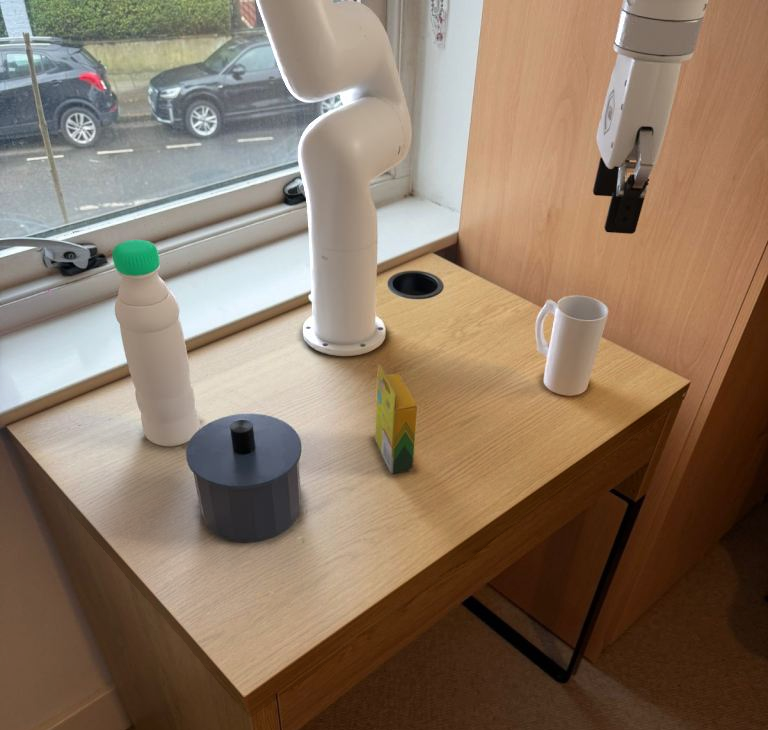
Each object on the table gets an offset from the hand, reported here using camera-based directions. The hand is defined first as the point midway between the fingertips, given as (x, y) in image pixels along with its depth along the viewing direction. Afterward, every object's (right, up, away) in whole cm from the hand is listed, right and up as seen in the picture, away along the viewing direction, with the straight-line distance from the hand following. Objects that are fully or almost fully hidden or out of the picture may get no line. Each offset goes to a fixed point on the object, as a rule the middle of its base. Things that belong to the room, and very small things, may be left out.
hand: (612, 212), depth 84 cm
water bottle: (-53, -23, +15) cm, 59 cm away
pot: (-41, -33, +5) cm, 52 cm away
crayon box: (-24, -26, +12) cm, 38 cm away
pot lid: (-41, -26, -1) cm, 48 cm away
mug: (0, -14, +26) cm, 29 cm away
